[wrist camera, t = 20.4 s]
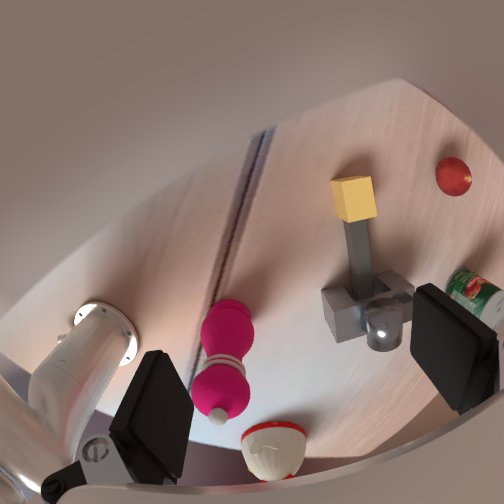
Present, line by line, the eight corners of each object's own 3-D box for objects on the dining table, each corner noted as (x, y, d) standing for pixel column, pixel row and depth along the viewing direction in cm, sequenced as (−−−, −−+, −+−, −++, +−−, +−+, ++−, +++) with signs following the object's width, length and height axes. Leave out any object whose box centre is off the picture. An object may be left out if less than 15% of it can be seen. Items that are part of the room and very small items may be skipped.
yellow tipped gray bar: (349, 311, 40) (359, 326, 36) (330, 180, 35) (341, 182, 31) (372, 304, 40) (384, 318, 36) (356, 175, 35) (370, 176, 30)
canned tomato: (449, 314, 42) (481, 343, 31) (438, 287, 40) (475, 315, 29) (474, 288, 40) (509, 311, 30) (466, 259, 38) (505, 280, 28)
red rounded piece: (452, 162, 34) (485, 164, 26) (448, 196, 35) (481, 204, 28) (427, 152, 33) (460, 152, 26) (423, 189, 35) (456, 195, 27)
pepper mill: (221, 286, 39) (200, 386, 20) (263, 312, 40) (273, 417, 21) (196, 322, 41) (165, 424, 21) (236, 345, 42) (231, 450, 23)
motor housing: (325, 318, 41) (347, 365, 29) (320, 290, 39) (345, 332, 28) (393, 297, 40) (430, 334, 29) (392, 269, 39) (433, 301, 27)
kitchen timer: (230, 430, 48) (226, 489, 34) (293, 413, 47) (303, 475, 33) (256, 458, 52) (258, 508, 38) (311, 443, 51) (322, 495, 36)
